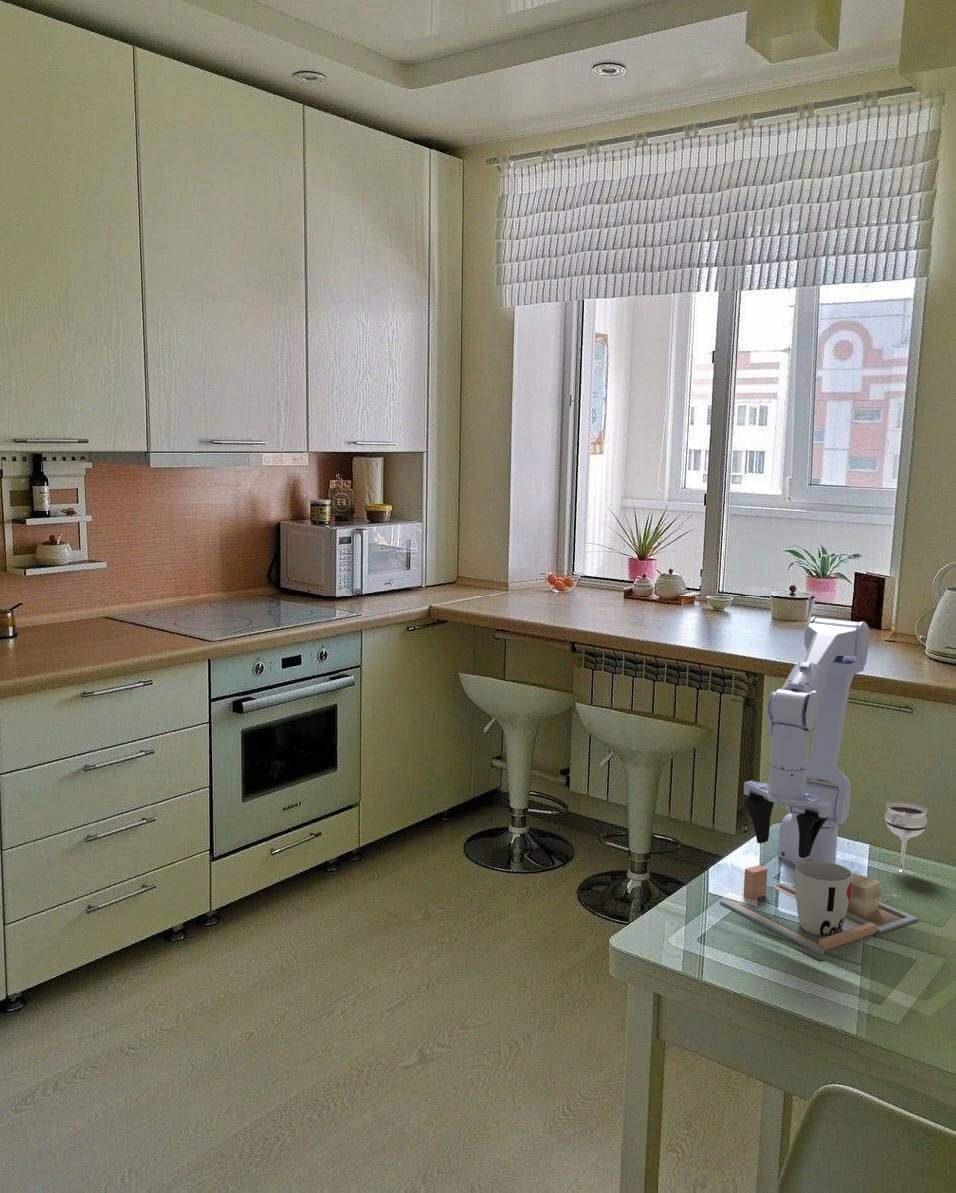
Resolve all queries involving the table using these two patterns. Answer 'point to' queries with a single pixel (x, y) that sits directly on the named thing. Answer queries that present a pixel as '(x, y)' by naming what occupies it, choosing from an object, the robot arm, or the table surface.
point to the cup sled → (757, 888)
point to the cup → (822, 896)
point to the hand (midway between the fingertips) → (783, 848)
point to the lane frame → (906, 920)
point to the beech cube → (863, 895)
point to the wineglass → (905, 823)
